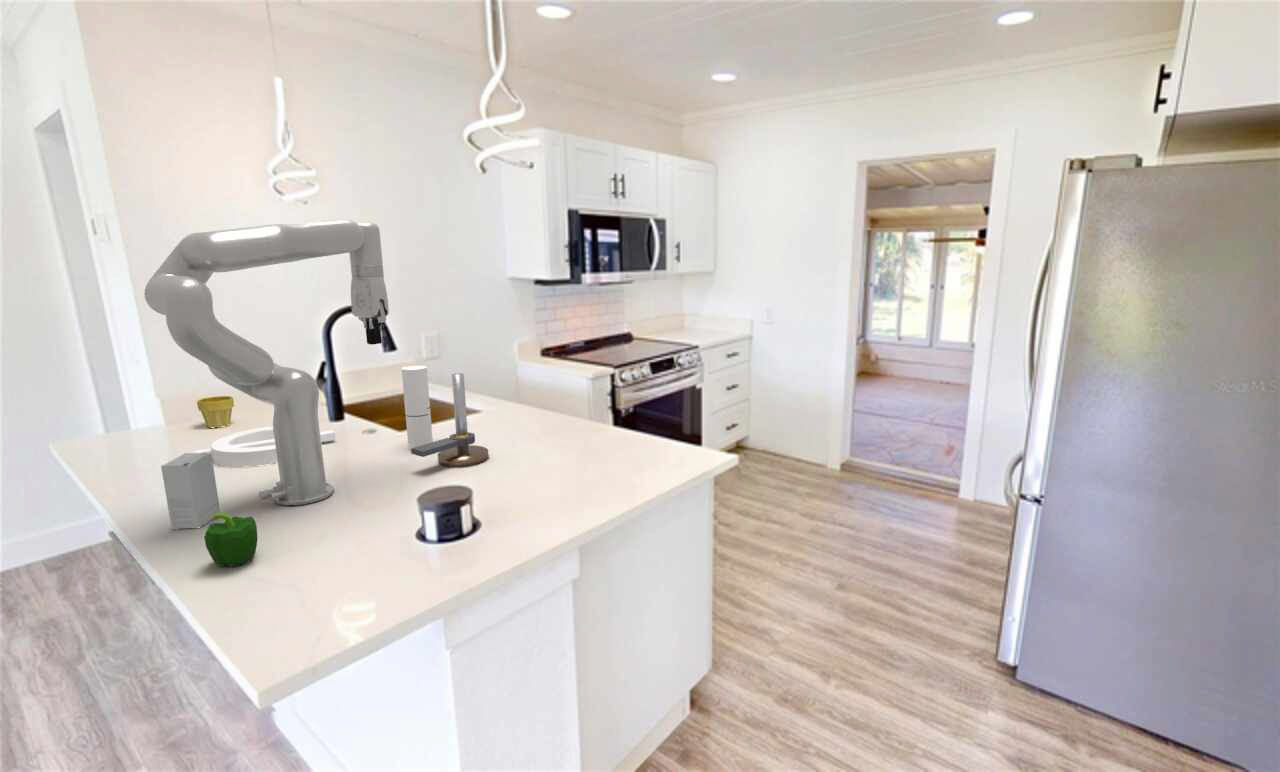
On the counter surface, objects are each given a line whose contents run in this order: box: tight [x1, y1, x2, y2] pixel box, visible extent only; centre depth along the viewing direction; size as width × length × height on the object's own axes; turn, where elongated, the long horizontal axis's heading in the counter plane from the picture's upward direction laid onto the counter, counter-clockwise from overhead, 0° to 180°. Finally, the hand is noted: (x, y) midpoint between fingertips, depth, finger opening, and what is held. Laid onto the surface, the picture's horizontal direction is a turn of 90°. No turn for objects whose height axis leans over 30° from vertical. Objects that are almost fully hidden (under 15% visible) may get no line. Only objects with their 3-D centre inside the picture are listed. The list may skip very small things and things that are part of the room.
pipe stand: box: [437, 372, 490, 468], centre depth 171 cm, size 14×14×25 cm
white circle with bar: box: [194, 425, 336, 468], centre depth 181 cm, size 28×28×5 cm
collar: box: [410, 431, 476, 458], centre depth 167 cm, size 18×7×2 cm, turn 145°
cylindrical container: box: [401, 365, 434, 451], centre depth 182 cm, size 7×7×25 cm
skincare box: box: [160, 452, 221, 530], centre depth 131 cm, size 8×6×15 cm
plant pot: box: [196, 395, 235, 428], centre depth 209 cm, size 10×10×10 cm
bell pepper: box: [203, 513, 258, 567], centre depth 114 cm, size 8×8×10 cm
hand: (374, 343), depth 157 cm, fingers closed
